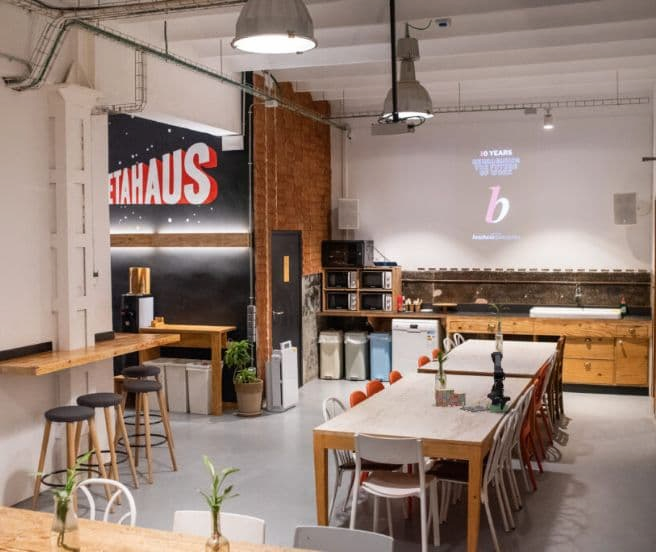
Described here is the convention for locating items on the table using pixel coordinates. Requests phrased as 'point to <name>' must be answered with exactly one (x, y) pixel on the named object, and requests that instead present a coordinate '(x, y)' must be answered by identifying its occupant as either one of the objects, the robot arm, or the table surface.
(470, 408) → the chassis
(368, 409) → the table surface
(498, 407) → the board
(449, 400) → the stack of blocks
